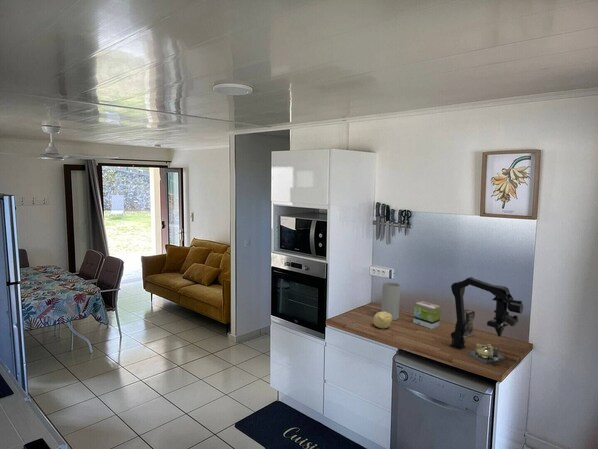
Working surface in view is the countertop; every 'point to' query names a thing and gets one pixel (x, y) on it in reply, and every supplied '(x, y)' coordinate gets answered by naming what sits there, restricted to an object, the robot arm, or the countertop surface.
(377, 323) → the yellow crumpled ball
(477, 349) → the yellow-green irregular lump
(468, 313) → the coffee box
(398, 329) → the countertop surface
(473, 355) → the mounting plate
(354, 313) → the countertop surface
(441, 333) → the countertop surface
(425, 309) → the tea box
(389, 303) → the cylinder vase
